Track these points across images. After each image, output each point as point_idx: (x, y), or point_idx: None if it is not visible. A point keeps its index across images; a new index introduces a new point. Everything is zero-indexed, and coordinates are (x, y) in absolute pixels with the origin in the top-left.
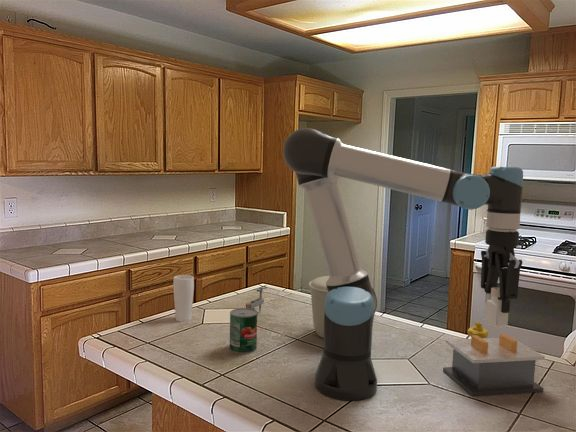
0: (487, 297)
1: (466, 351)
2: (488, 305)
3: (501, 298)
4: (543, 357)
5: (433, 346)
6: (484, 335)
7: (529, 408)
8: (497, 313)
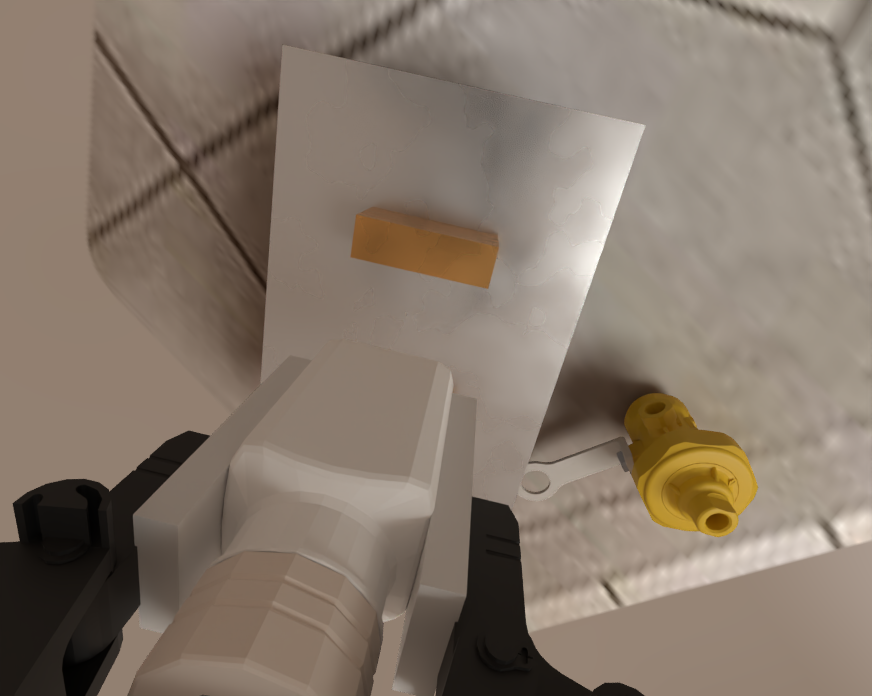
0: (437, 543)
1: (415, 112)
2: (374, 442)
3: (30, 510)
4: None
5: (862, 313)
6: (636, 475)
7: (212, 239)
8: (259, 408)
